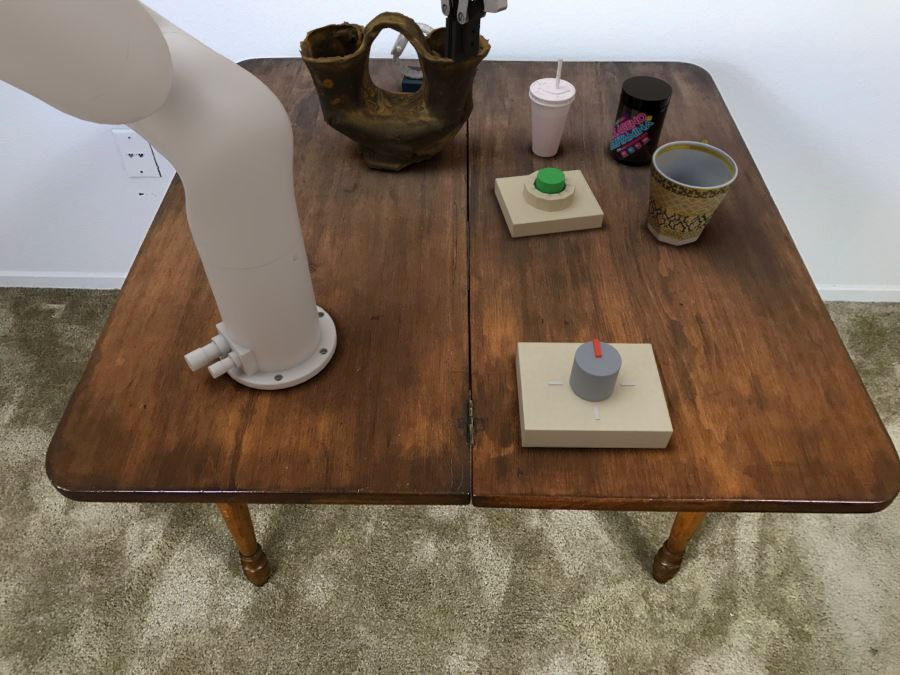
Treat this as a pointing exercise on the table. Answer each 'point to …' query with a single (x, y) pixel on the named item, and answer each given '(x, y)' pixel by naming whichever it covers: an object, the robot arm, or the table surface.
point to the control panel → (590, 422)
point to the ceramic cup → (687, 189)
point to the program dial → (595, 370)
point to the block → (547, 205)
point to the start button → (550, 181)
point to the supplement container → (639, 119)
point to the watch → (411, 74)
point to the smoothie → (549, 112)
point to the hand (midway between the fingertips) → (461, 56)
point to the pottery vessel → (387, 112)
